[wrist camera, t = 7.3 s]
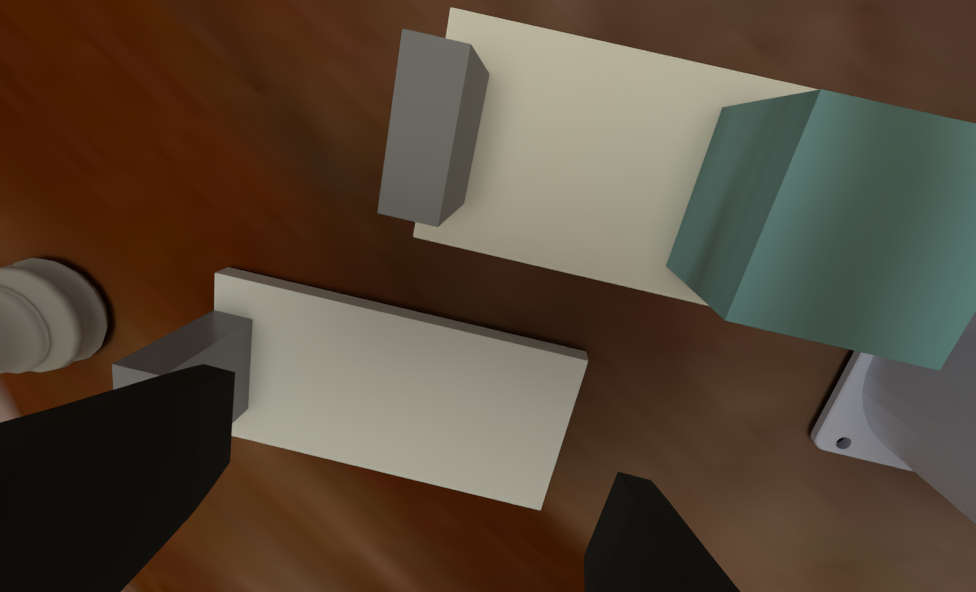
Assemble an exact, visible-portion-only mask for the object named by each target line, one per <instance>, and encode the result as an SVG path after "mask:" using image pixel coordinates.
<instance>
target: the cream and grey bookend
mask: <svg viewBox="0 0 976 592" xmlns="http://www.w3.org/2000/svg"><path fill="white" fill-rule="evenodd" d="M201 364H206V365H210V366H213V367H217V368H221V369H225V370H229V371H233V372H235V386H234V403H233V419H232V435H231V436H235V437H240V438H244V439H248V440H252V441H256V442H260V443H264V444H268V445H273V446H277V447H281V448H285V449H289V450H293V451H297V452H301V453H306V454H310V455H314V456H318V457H322V458H326V459H330V460H334V461H338V462H343V463H347V464H351V465H355V466H359V467H363V468H367V469H371V470H376V471H380V472H384V473H388V474H392V475H396V476H400V477H404V478H409V479H413V480H417V481H421V482H425V483H429V484H433V485H437V486H442V487H446V488H450V489H454V490H458V491H462V492H466V493H470V494H475V495H479V496H483V497H487V498H491V499H495V500H499V501H503V502H508V503H512V504H516V505H520V506H524V507H528V508H532V509H536V510H541V507H542V504H543V501H544V498H545V495H546V492H547V488H548V485H549V482H550V479H551V476H552V473H553V470H554V467H555V463H556V460H557V457H558V454H559V451H560V448H561V445H562V442H563V438H564V435H565V432H566V429H567V426H568V423H569V420H570V417H571V414H572V410H573V407H574V404H575V401H576V398H577V395H578V392H579V389H580V385H581V382H582V379H583V376H584V373H585V370H586V367H587V364H588V358H587V354H586V351H582V350H578V349H573V348H569V347H565V346H561V345H556V344H552V343H548V342H544V341H539V340H535V339H531V338H527V337H522V336H518V335H514V334H510V333H505V332H501V331H497V330H493V329H488V328H484V327H480V326H476V325H472V324H467V323H463V322H459V321H455V320H450V319H446V318H442V317H438V316H433V315H429V314H425V313H421V312H416V311H412V310H408V309H404V308H399V307H395V306H391V305H387V304H382V303H378V302H374V301H370V300H366V299H361V298H357V297H353V296H349V295H344V294H340V293H336V292H332V291H327V290H323V289H319V288H315V287H310V286H306V285H302V284H298V283H293V282H289V281H285V280H281V279H276V278H272V277H268V276H264V275H260V274H255V273H251V272H247V271H243V270H238V269H234V268H230V267H228V268H225V269H223V270H220V271H218V272H215V294H214V310H213V311H211V312H210V313H208V314H206V315H204V316H202V317H200V318H198V319H196V320H194V321H193V322H191V323H189V324H187V325H185V326H183V327H181V328H179V329H177V330H175V331H174V332H172V333H170V334H168V335H166V336H164V337H162V338H160V339H158V340H157V341H155V342H153V343H151V344H149V345H147V346H145V347H143V348H141V349H139V350H138V351H136V352H134V353H132V354H130V355H128V356H126V357H124V358H122V359H121V360H119V361H117V362H115V363H113V364H112V373H113V390H114V389H117V388H121V387H124V386H127V385H130V384H134V383H137V382H140V381H143V380H147V379H150V378H153V377H157V376H160V375H163V374H167V373H170V372H174V371H177V370H181V369H184V368H188V367H192V366H197V365H201Z"/></svg>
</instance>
